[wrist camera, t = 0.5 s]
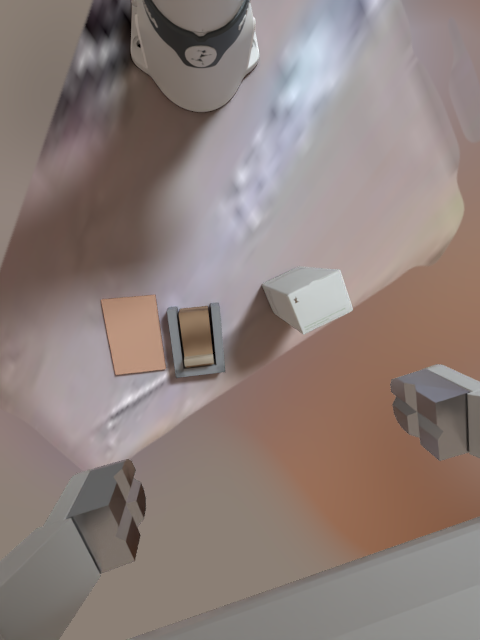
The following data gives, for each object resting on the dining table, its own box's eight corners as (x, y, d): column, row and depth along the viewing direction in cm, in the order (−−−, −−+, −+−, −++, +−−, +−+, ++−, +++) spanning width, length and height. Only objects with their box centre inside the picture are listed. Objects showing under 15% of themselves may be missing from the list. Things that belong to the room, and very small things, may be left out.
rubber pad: (102, 299, 49) (100, 300, 48) (155, 294, 50) (154, 295, 49) (116, 373, 52) (115, 374, 52) (166, 367, 53) (165, 369, 53)
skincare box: (272, 313, 54) (301, 338, 39) (259, 281, 52) (284, 295, 37) (312, 295, 54) (355, 312, 39) (300, 263, 52) (341, 268, 37)
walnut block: (180, 308, 51) (177, 315, 46) (207, 305, 52) (208, 312, 46) (187, 359, 54) (185, 371, 48) (213, 356, 54) (214, 367, 49)
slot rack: (168, 307, 51) (166, 310, 48) (218, 302, 52) (219, 305, 49) (177, 370, 54) (176, 377, 51) (223, 365, 55) (225, 371, 52)
